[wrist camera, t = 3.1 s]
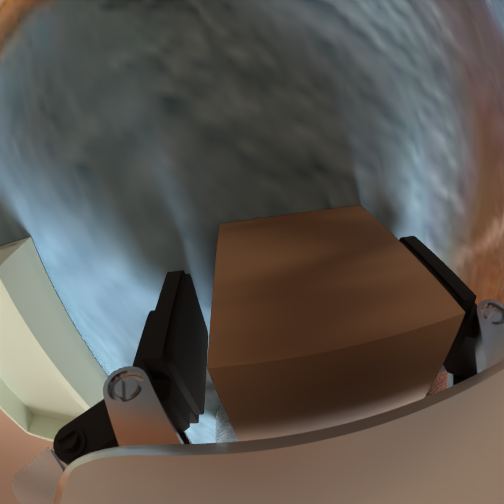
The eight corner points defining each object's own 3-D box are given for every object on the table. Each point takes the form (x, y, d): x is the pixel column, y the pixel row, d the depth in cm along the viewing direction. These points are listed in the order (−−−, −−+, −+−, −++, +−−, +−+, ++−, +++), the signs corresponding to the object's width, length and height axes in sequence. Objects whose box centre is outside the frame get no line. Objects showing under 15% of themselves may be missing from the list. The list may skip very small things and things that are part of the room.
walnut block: (360, 204, 10) (465, 312, 4) (353, 312, 12) (406, 426, 7) (219, 223, 10) (207, 367, 4) (241, 330, 12) (248, 461, 7)
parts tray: (31, 236, 9) (-4, 269, 7) (149, 428, 16) (145, 458, 14) (-65, 268, 9) (-85, 289, 7) (36, 411, 17) (27, 433, 14)
